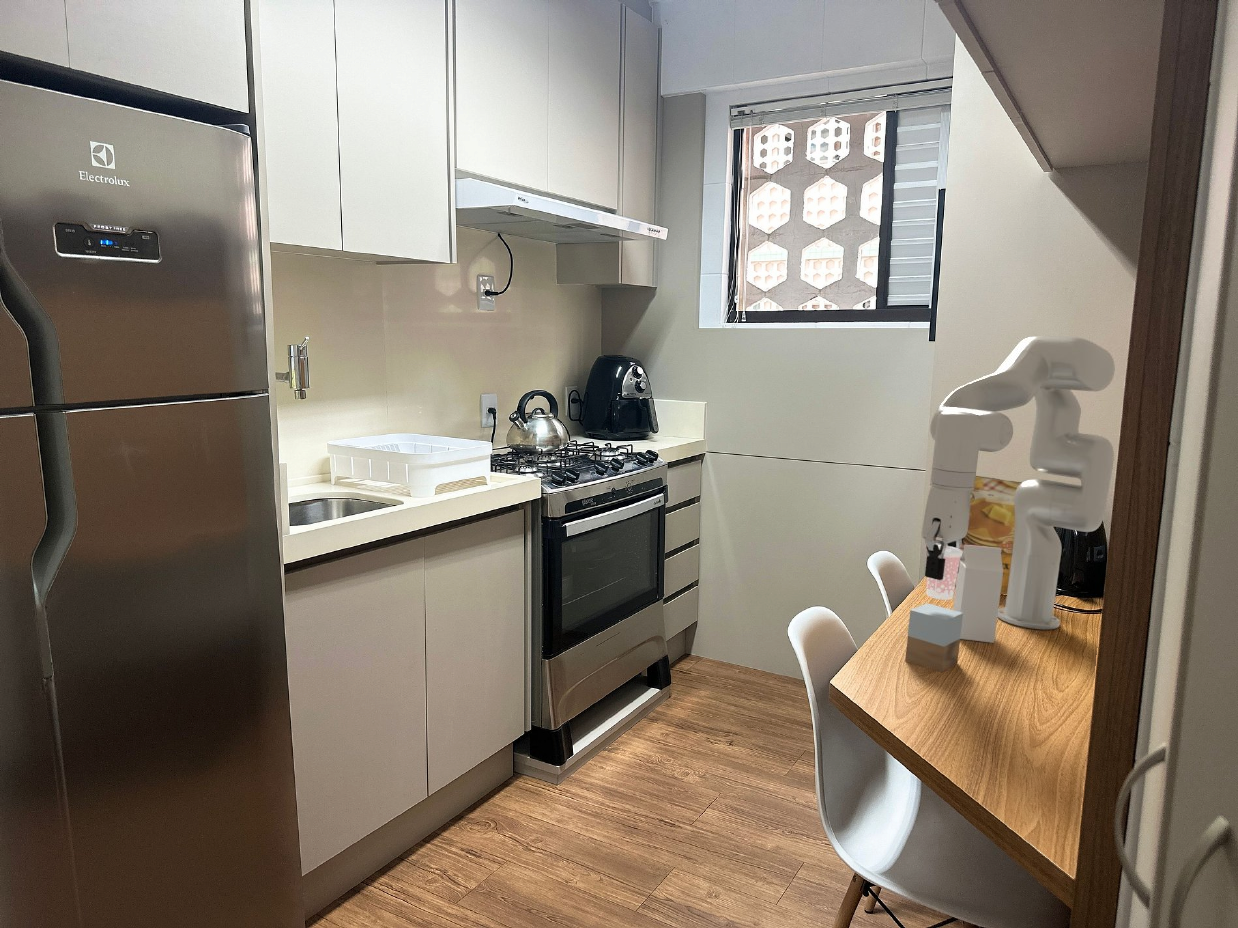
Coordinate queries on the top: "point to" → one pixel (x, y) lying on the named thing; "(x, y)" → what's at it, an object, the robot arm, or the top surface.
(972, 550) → the milk carton
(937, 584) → the beverage cup
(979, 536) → the pancake mix bag
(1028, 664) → the top surface
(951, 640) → the top block
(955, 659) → the bottom block
